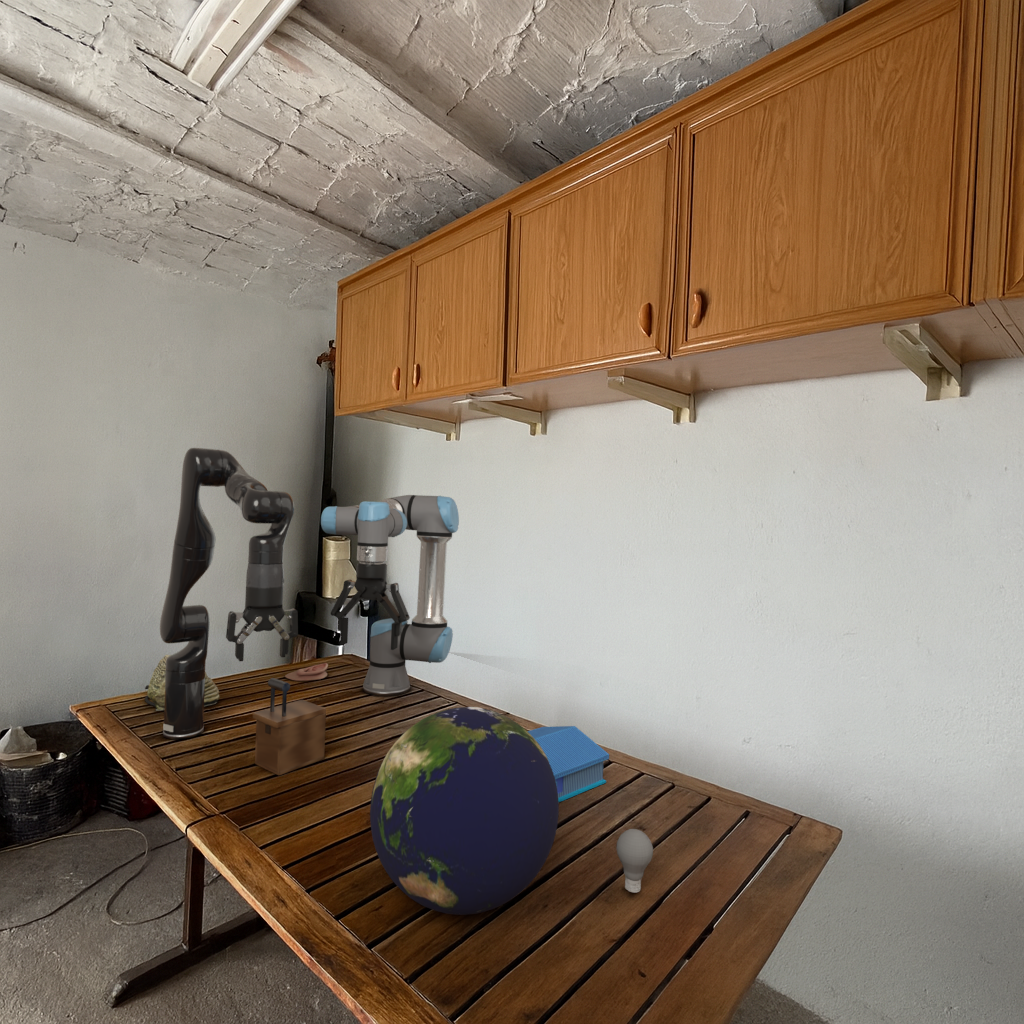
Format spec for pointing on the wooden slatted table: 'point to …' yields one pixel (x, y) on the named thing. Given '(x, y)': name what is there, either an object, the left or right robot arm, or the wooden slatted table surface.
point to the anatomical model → (309, 673)
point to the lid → (286, 708)
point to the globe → (464, 810)
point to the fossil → (158, 687)
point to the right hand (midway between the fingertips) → (368, 646)
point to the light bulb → (634, 857)
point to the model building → (571, 759)
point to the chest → (290, 744)
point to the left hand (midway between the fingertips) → (261, 658)
